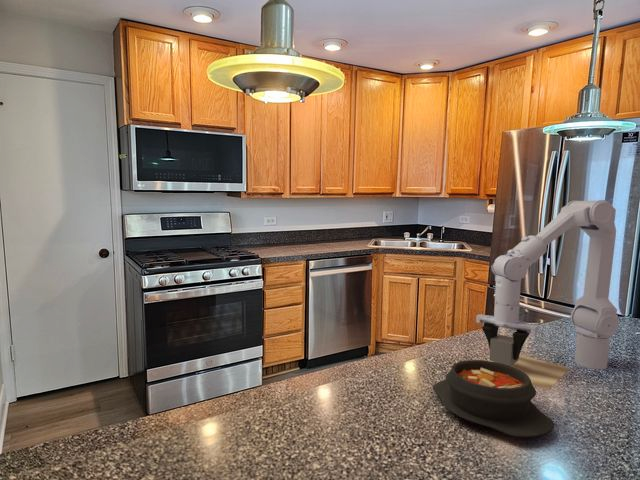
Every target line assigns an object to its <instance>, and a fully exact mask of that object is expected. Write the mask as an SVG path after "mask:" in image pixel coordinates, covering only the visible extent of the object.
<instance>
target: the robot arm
mask: <svg viewBox="0 0 640 480" xmlns="http://www.w3.org/2000/svg"><path fill="white" fill-rule="evenodd" d="M616 212H617V209H616V208H615V207H614V206H613V205H612V204H611V203H610V202H609V201H607V200H605V199H598V200H577V199H575V200H570V201H569V202H567V204H566V205H564V206H562V207H561V208H560V212H559V213H558V214H557V215H556V216H555V217H554V218H553V219H552V220H551V221H550V222H549V223H548V224H547V225H545V227H544V228H542V230H541V231H540V232H538V233H537V234H536V235H531V234H530V235H528V236H523V237H522V238H521V239H520V240H521V241H520V242H519V243H518V244H516V245H515V246H514V247H513V248H511V249H509V250H507V253H506V254H503V255H499V256H498V257H496V258H495V259H494V262H493V264H492V265H491V267H490V268H491V272H492V274H494V281H495V288H494V290H495V292H494V309H493V315H487V314H481V313H479V314H477V315H476V318H475V319H476V320H475V321H476V323H477V324H483V326H482V327H481V329H482V331H483V334H484V336H485V338H486V340H487V343H488V349H489V350H490V341H491V338H493V337H495V336H497V335H498V334H499V333H498V331H499V327H501V328H505V329H509V330H514V331H515V332H513V333H512V338H513V341H514V350H513V359H514V360H517V359H518V358H519V355H521V351H522V348H523V347H524V344H525V343H526V340H527V339H528V337H529V336H530V334H531V335H532V336H536V335H537V334H538V333H539V325H535V324H532V323H529V322H525V321H522V320H520V306H521V305H520V304H521V302H520V301H521V284H522V283H521V282H522V279H524V278H525V277H526V275H527V274H528V271H529V270H528V269H529V268H530V266H531V265H533V264H534V263H535V262H537V261H538V260H539V259H540V258H541V257H542V256H544V255H545V254H546V253H547V251H548V250H547V246H548V245H550V244H551V243H553V242H554V240H556V239H557V238H559V237H560V236H562V235H563V234H565V233H566V232H567V231H568V230H570V229H571V228H578V229H581V230H582V231H583V232H584V233H585V234H586V235H587V236H588V237H589V242H588V251H587V260H586V269H585V278H584V285H583V286H584V287H583V295H582V296H581V297H579V298H578V299H576V300H575V303H574V307H573V310H572V311H571V313H570V320H571V323H572V325H573V326H575V327H574V330H575V331H576V336H575V337H576V339H575V351H574V353H575V354H574V363H575V364H577V365H578V366H580V367H583V368H587V369H592V370H606V369H608V363H609V359H610V356H609V355H610V339H612V338H613V336H614V335H616V333H617V331H618V329H619V319H618V316H617V315H618V314H617V311H618V309H617V307H616V306H615V305H614V304H613V303H612V302H611V300H610V299H609V297H610V287H611V279H612V273H613V272H612V271H613V270H612V269H613V262H614V255H615V254H614V253H615V245H616V236H617V229H616V224H615V221H616Z"/></svg>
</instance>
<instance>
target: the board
mask: <svg viewBox="0 0 640 480" xmlns="http://www.w3.org/2000/svg"><path fill="white" fill-rule="evenodd" d="M487 361H490V359H488V360H487ZM491 362H494V361H491ZM511 367H514V368H516V369H518V370H520V371H522V372H524V373H525V374H526V375H528V376H529V378H530V379H531V383H532V385H533V386H534V387H539V388H542V389H546V390H550V389H552V387H553V386H554V385H555V384H556V383H558V381H559V380H560V379H561V378H562V377H563V376H564V375H565V374H566V373H567V372H568V371H569V370H570V369H571V367H569V366H564V365H560V364H557V363H552V362H549V361H544V360H541V359H536V358H533V357H529V356H526V355H521V354H520V355H519V358H518V361H517V362H516V363H514V364H513V365H511Z"/></svg>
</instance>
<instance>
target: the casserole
mask: <svg viewBox="0 0 640 480" xmlns="http://www.w3.org/2000/svg"><path fill="white" fill-rule="evenodd" d="M432 390H433V391H434V392H435V393H436V394H437V396H438V397H439V398H440V400H441V402H442V405H443V406H444V407H445V408H446V409H447V410H448V411H450V412H451V413H453V414H454V415H456V416H457V417H459V418H461V419H464V420H466V421H469V422H471V423H473V424H477V425H479V426H483V427H487V428H491V429H493V430H496V431H498V432H500V433H502V434H504V435H505V434H506V435H508V436H511V437H515V438H535V437H541V436H545V435H546V434H549V433H551V432H552V431H553V430H554V429H555V423H554V421H553V419H552V418H550V417H549V416H547V415H546V414H545V413H543V412H541V411H540V409H539V408H538V407H537V406H536V405H535V404H534V403H533V402H532V400H533V399H534V398H535V397H536V395H537V390H536V387H535V385H532V383H531V379H530V378H529V376H528V375H526V374H525V373H524V372H522V371H520V370H518V369H516V368H514V367H511V366H508V365H505V364H501V363H497V362H491V361H488V360H482V359H478V360H477V359H474V360H473V359H469V360H468V359H467V360H462V361H458V362H456V363H454V364H453V365H452V366H451V367H450V371H448V372H447V373H446V375H445V379H443V380H441V381H438V382H436V383H434V384H433V386H432Z"/></svg>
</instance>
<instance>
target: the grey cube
mask: <svg viewBox="0 0 640 480" xmlns="http://www.w3.org/2000/svg"><path fill="white" fill-rule="evenodd" d="M513 350H514V341H513V336H512V337H511V336H507V335H502V334H497V336H495V337H493V338H491V341H490V349H489V360H490V361H494V362H497V363H501V364H505V365H508V366H511V365H513V364H514V363H516V362H517V361H518V359H517V360H514V359H513Z"/></svg>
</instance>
